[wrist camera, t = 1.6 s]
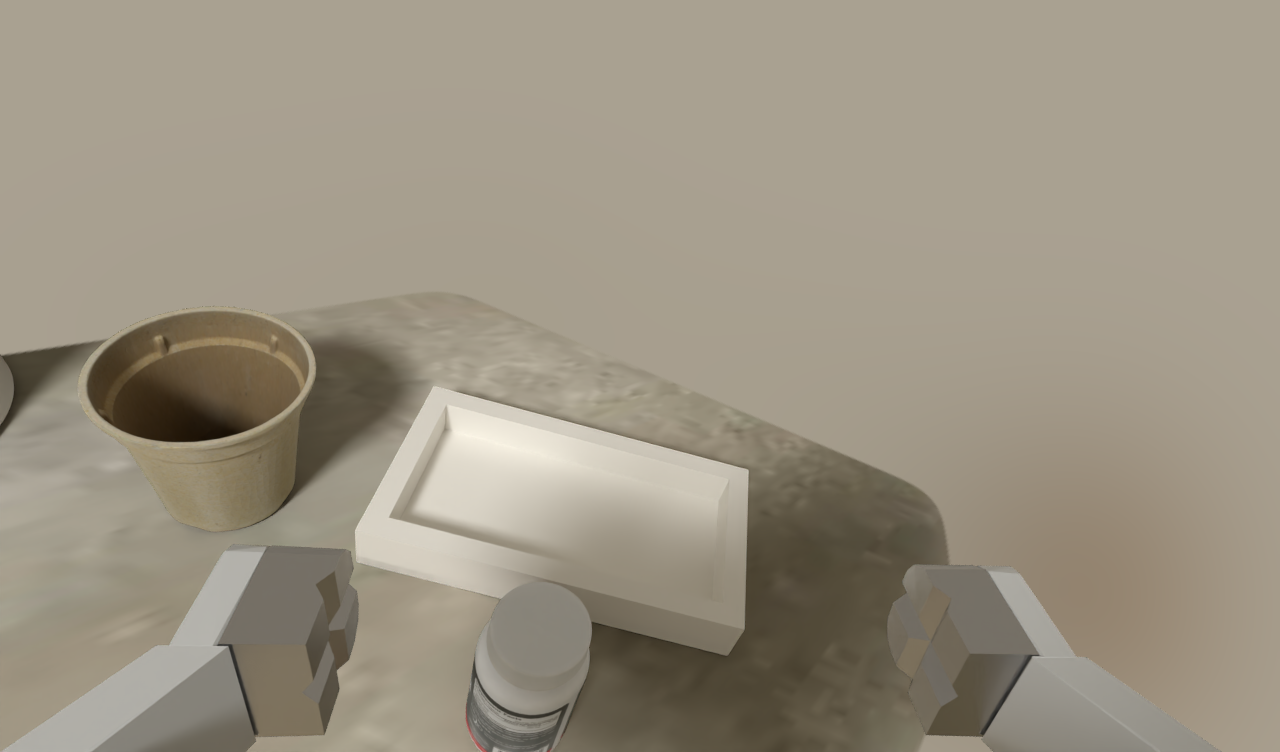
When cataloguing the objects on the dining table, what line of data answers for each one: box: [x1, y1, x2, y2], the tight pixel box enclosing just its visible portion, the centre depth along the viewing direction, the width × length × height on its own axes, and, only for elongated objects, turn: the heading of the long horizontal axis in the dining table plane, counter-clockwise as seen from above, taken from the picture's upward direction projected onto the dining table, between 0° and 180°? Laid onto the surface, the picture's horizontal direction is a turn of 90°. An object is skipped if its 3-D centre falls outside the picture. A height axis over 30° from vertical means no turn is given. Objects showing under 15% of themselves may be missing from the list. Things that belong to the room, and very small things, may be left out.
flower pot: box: [78, 306, 316, 532], centre depth 36 cm, size 9×9×9 cm
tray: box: [355, 386, 749, 656], centre depth 41 cm, size 20×11×3 cm, turn 82°
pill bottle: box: [466, 582, 592, 752], centre depth 31 cm, size 5×5×8 cm
